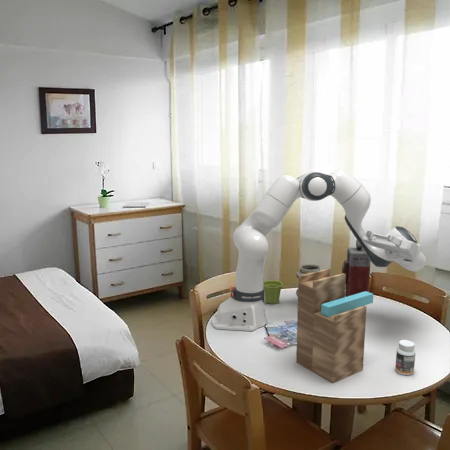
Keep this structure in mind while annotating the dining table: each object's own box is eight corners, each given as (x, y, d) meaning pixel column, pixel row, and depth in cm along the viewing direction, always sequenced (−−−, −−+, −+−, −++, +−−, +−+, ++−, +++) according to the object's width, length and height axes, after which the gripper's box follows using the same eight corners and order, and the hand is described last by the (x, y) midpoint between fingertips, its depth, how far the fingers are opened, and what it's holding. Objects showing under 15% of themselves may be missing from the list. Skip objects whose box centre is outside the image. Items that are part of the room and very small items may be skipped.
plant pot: (268, 307, 210) (269, 288, 208) (257, 300, 218) (257, 282, 217) (286, 303, 214) (286, 285, 213) (274, 297, 223) (275, 279, 221)
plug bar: (328, 317, 148) (329, 307, 147) (321, 313, 150) (321, 304, 150) (372, 302, 160) (373, 293, 159) (365, 300, 162) (365, 291, 161)
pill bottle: (392, 367, 157) (394, 339, 155) (408, 366, 158) (411, 338, 156) (399, 376, 152) (402, 347, 150) (417, 375, 152) (419, 346, 150)
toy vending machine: (340, 295, 224) (342, 237, 219) (364, 296, 223) (367, 237, 218) (342, 302, 216) (345, 241, 210) (368, 302, 214) (371, 242, 209)
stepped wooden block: (332, 383, 148) (337, 289, 142) (296, 362, 161) (298, 275, 155) (362, 370, 156) (368, 281, 149) (325, 351, 169) (328, 268, 163)
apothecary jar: (290, 303, 215) (291, 264, 211) (312, 298, 220) (313, 261, 216) (306, 312, 204) (307, 272, 200) (328, 307, 209) (330, 268, 206)
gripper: (377, 236, 184) (357, 222, 176) (425, 246, 168) (406, 231, 160) (371, 251, 184) (351, 237, 176) (419, 263, 167) (399, 249, 159)
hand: (377, 235), depth 168 cm, fingers open, 8 cm apart
